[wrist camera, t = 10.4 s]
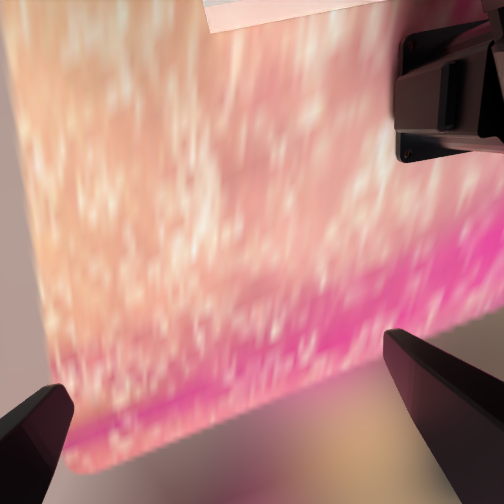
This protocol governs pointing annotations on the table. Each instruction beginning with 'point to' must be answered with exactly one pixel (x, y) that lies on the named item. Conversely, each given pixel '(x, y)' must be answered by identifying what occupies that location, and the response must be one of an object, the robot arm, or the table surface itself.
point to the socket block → (266, 11)
